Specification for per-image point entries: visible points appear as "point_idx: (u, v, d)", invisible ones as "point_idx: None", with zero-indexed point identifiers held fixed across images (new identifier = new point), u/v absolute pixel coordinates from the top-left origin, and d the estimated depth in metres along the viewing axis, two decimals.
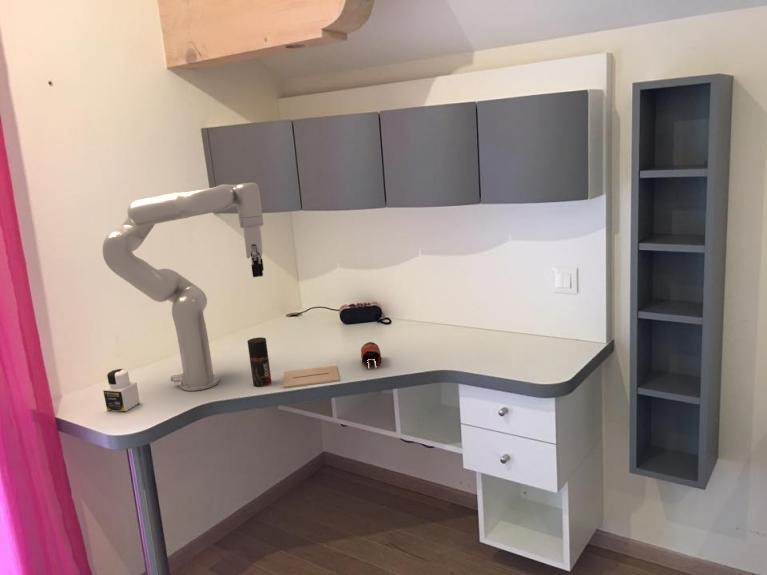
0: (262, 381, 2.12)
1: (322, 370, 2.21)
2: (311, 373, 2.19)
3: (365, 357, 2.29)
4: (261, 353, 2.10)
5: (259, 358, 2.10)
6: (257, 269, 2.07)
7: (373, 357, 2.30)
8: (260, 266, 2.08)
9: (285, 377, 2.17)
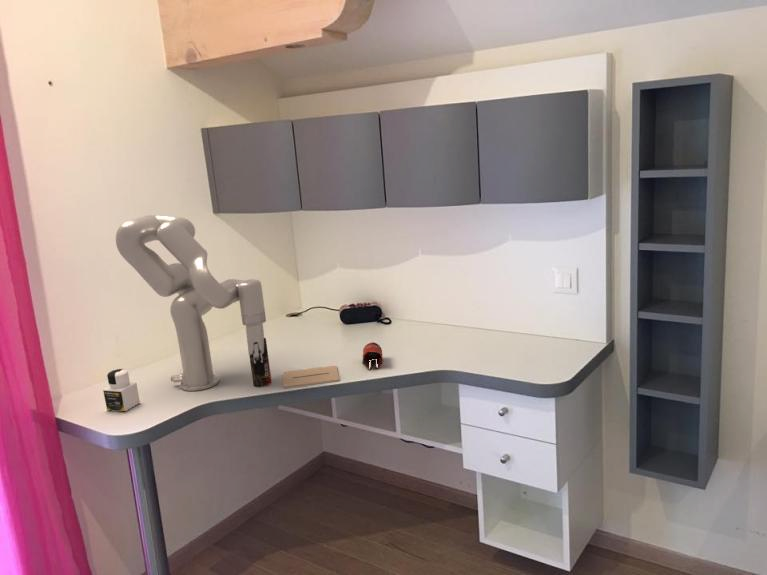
0: (262, 381, 2.12)
1: (322, 370, 2.21)
2: (311, 373, 2.19)
3: (367, 357, 2.29)
4: None
5: None
6: (259, 368, 2.09)
7: (375, 357, 2.29)
8: (262, 364, 2.10)
9: (285, 377, 2.17)
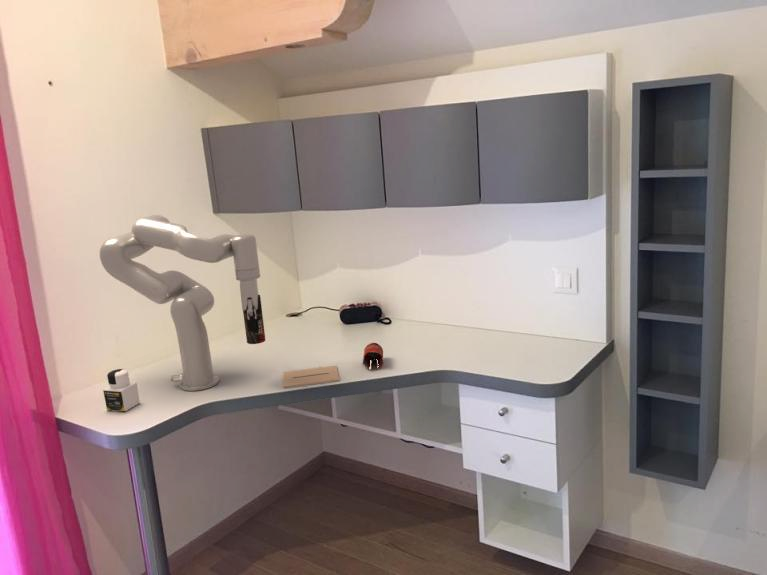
0: (256, 338, 2.09)
1: (322, 370, 2.21)
2: (311, 373, 2.19)
3: (368, 358, 2.28)
4: None
5: None
6: (253, 324, 2.06)
7: (377, 358, 2.29)
8: (256, 321, 2.07)
9: (285, 377, 2.17)
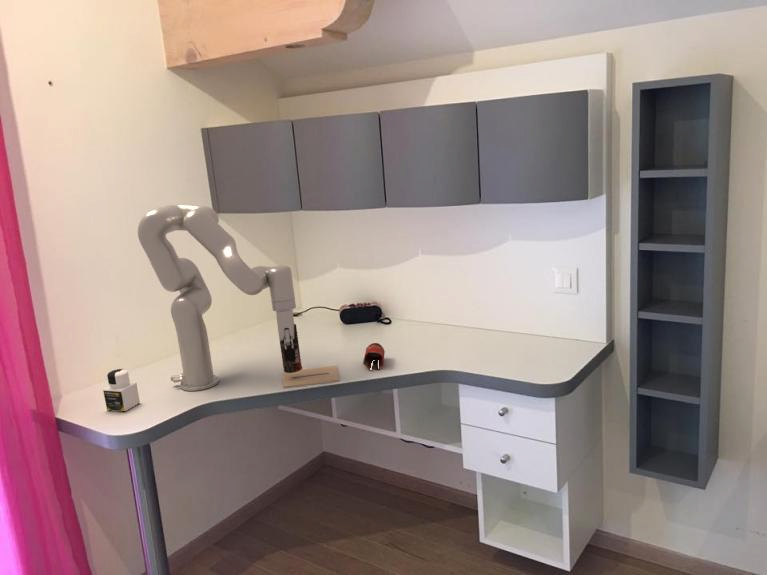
0: (293, 367, 2.12)
1: (322, 370, 2.21)
2: (311, 373, 2.19)
3: (370, 358, 2.28)
4: None
5: None
6: (290, 353, 2.10)
7: (378, 358, 2.28)
8: (293, 350, 2.10)
9: (285, 377, 2.17)
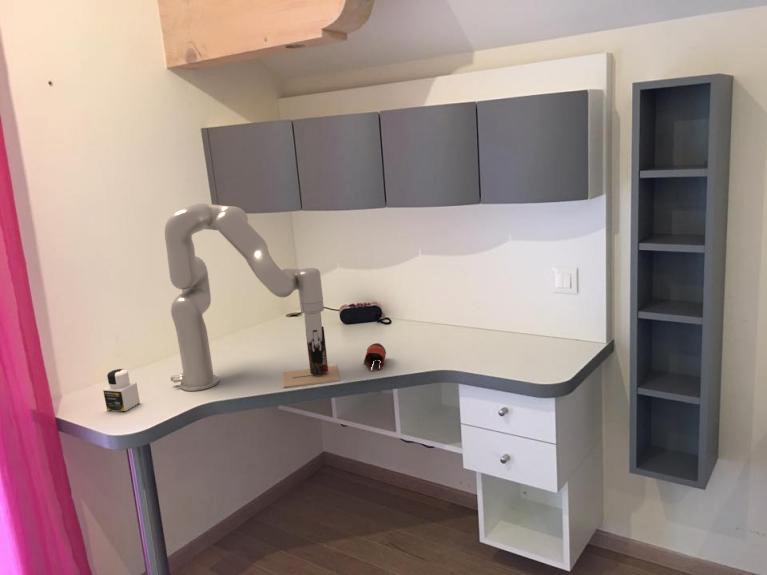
0: (320, 369, 2.14)
1: None
2: None
3: (371, 358, 2.28)
4: (320, 341, 2.12)
5: None
6: (318, 355, 2.11)
7: (379, 358, 2.28)
8: (320, 352, 2.12)
9: (285, 377, 2.17)
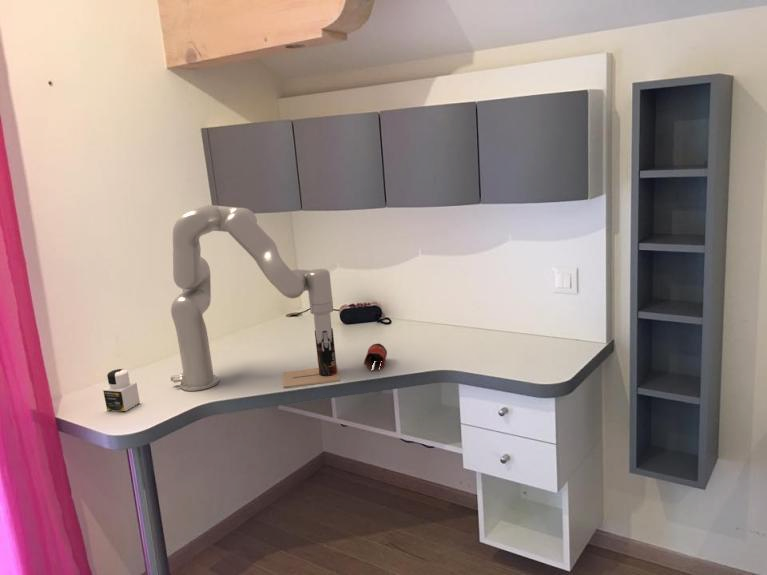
0: (329, 371, 2.14)
1: None
2: (311, 373, 2.19)
3: (372, 358, 2.27)
4: None
5: None
6: (327, 355, 2.10)
7: (380, 359, 2.27)
8: (330, 352, 2.11)
9: (285, 377, 2.17)
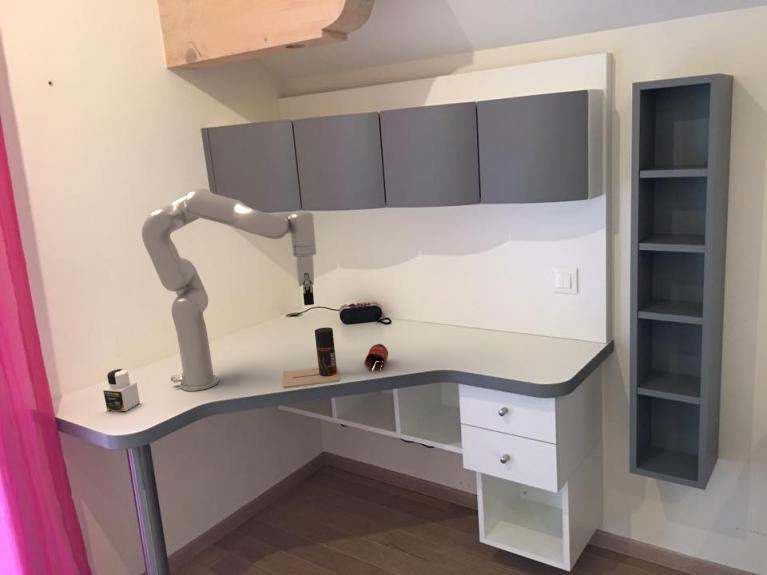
0: (329, 371, 2.14)
1: None
2: (311, 373, 2.19)
3: (374, 359, 2.27)
4: (329, 342, 2.13)
5: (326, 348, 2.12)
6: (309, 298, 2.09)
7: (382, 359, 2.27)
8: (312, 295, 2.10)
9: (285, 377, 2.17)
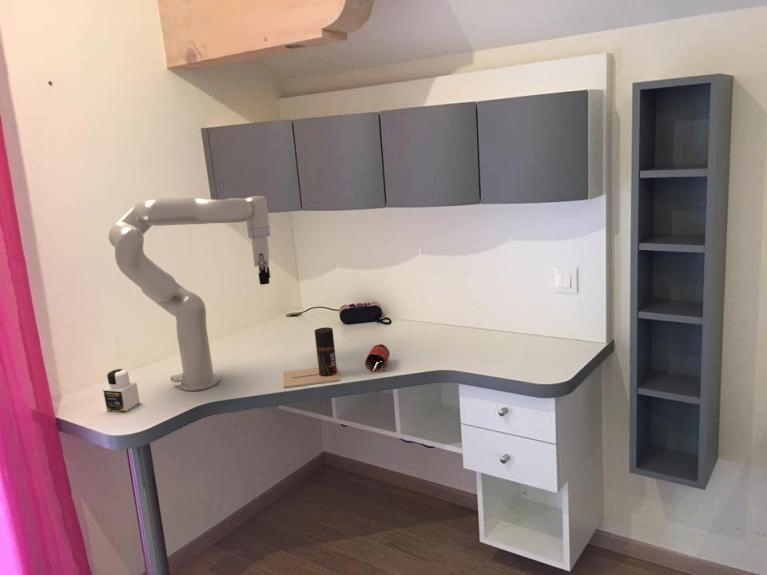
0: (329, 371, 2.14)
1: None
2: (311, 373, 2.19)
3: (375, 359, 2.26)
4: (329, 342, 2.13)
5: (326, 348, 2.12)
6: (264, 277, 2.21)
7: (383, 360, 2.26)
8: (267, 274, 2.22)
9: (285, 377, 2.17)
